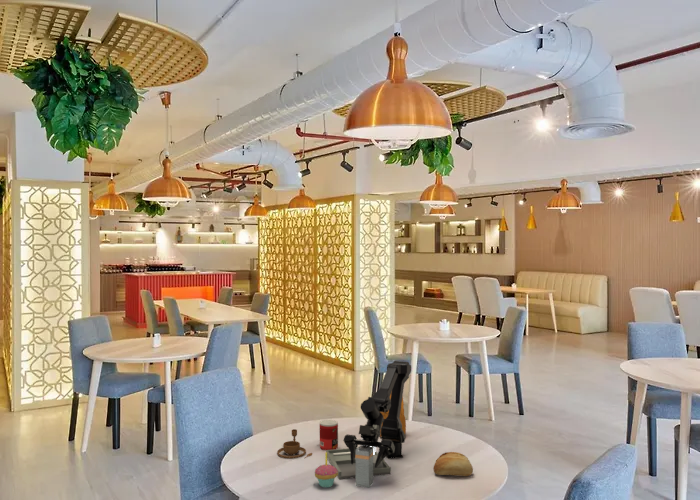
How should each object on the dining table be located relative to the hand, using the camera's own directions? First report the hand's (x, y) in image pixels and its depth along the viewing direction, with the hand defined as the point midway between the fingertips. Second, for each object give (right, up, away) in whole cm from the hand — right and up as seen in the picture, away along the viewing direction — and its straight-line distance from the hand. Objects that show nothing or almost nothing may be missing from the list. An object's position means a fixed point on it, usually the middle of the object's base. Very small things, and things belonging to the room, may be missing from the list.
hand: (363, 465), depth 216 cm
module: (0, -7, +1) cm, 7 cm away
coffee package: (+14, -7, +55) cm, 57 cm away
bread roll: (+34, -7, +10) cm, 36 cm away
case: (-2, -7, +20) cm, 22 cm away
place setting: (-28, -8, +36) cm, 46 cm away
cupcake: (-13, -7, 0) cm, 15 cm away
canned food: (-14, -7, +40) cm, 43 cm away
